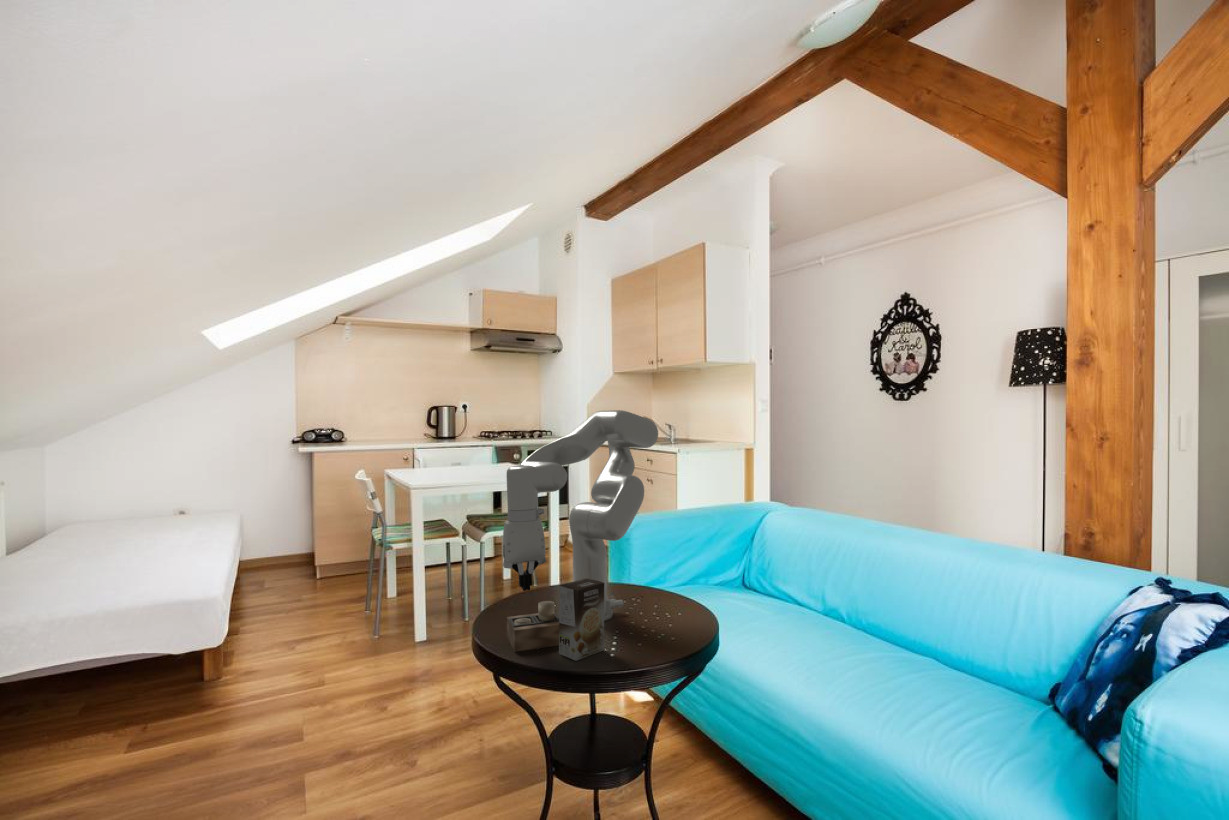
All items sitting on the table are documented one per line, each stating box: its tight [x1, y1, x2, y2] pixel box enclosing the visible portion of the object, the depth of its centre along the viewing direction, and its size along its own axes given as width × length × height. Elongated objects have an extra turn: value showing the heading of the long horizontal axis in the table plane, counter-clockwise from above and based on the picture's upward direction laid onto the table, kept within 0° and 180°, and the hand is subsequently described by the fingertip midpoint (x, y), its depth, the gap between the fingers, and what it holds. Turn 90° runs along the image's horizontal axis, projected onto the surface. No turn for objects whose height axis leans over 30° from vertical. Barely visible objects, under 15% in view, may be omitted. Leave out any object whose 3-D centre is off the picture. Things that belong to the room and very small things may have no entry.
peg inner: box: [537, 600, 556, 622], centre depth 142 cm, size 4×4×4 cm
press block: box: [506, 612, 559, 653], centre depth 141 cm, size 12×10×5 cm
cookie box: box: [558, 579, 605, 662], centre depth 134 cm, size 9×6×16 cm
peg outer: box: [515, 618, 531, 625], centre depth 140 cm, size 4×4×4 cm
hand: (525, 588), depth 141 cm, fingers closed
